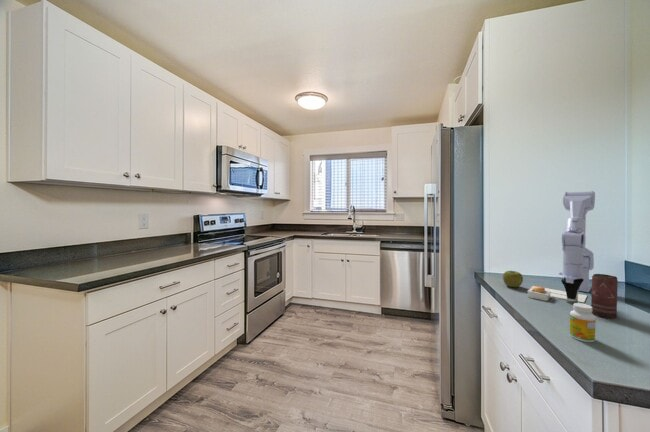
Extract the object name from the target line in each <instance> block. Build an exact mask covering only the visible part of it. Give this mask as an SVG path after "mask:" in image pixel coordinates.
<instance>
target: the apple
mask: <svg viewBox="0 0 650 432" xmlns="http://www.w3.org/2000/svg"><path fill="white" fill-rule="evenodd" d="M523 277H524V276H523V274H522V273H520V272H518V271H516V270H506V271H505V272H504V273H503V275H502V279H503V282H504V284H505V286H507V287H509V288H519V287H520V286H521V285H523V281H524V278H523Z"/></svg>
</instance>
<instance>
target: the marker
mask: <svg viewBox="0 0 650 432" xmlns="http://www.w3.org/2000/svg"><path fill="white" fill-rule="evenodd" d="M578 294H579V291H577V295H576V298H575V300H574V299H569V298H568V297H567V300H566V303H567V304H569V305H573V304H574V303H579V302H578Z"/></svg>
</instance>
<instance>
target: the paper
mask: <svg viewBox="0 0 650 432" xmlns="http://www.w3.org/2000/svg"><path fill="white" fill-rule="evenodd" d="M534 286H535V285H532V286H531V287H530V288H529V289H528V290H530V289H531V288H534ZM544 288H545V290H547V291H551V297H550V298H555V299H561V300H566V301H567V294H566V290H564V291H563V290H559V289H553V288H552V289H551V288H548V287H544ZM528 290H527V291H526V292H527V293H528ZM587 297H588V295H586V294H582V293H578V303H582V304H585V301H586V300H587Z"/></svg>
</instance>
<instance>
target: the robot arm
mask: <svg viewBox="0 0 650 432" xmlns="http://www.w3.org/2000/svg"><path fill="white" fill-rule="evenodd" d="M595 202H596V192H595V191H594V190H590V191H570V192H569V191H565V192H564V193H563V194H562V204H563V207H564V208H565V210H566V211H568V212H569V213H570V214H569V216H570V217H569V218H567V219H566V220H565V225H564V232H563V233H562V235H561V246H562V251H563V252H562V253H563V255H562V271H559V272H558V275H561V276H563V278H562V279H561V283H562V285H563V288H564V291H565V292H566V294H567V297H568V298H569V299H574V300H575V298H576V295H577V291H578V292H585V293H590V291H591V290H592V286H591V285H590V271H592V270H594V265H595V263H594V262H595V261H594V260H595V257H594V253H593V252H592V250H590V249H588V248H586V239H587V238H586V226H587V225H586V223H587V220H586V219H587V214H588V212H589V211H593V210H594V209H595V205H596V203H595Z"/></svg>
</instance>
